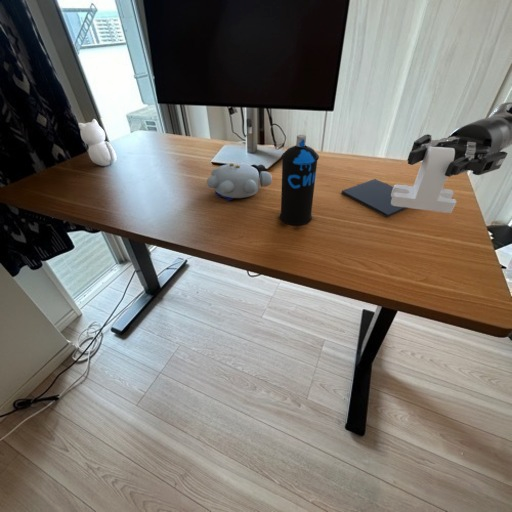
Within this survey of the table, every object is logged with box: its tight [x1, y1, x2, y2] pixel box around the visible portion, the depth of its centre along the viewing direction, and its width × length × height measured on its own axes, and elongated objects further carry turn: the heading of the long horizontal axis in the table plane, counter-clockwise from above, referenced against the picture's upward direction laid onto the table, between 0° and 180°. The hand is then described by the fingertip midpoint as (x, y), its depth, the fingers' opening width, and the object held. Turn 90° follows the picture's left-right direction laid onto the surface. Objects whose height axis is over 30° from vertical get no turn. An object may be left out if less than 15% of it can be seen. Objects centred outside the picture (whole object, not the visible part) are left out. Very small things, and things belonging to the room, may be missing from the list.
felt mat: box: [341, 178, 408, 218], centre depth 76 cm, size 16×14×1 cm
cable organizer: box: [391, 147, 457, 214], centre depth 47 cm, size 5×10×10 cm, turn 69°
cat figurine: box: [77, 118, 118, 167], centre depth 98 cm, size 9×12×15 cm
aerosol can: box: [279, 134, 320, 227], centre depth 63 cm, size 8×8×20 cm
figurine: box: [206, 162, 273, 202], centre depth 80 cm, size 17×8×20 cm
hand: (429, 164), depth 44 cm, fingers closed on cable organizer, 5 cm apart
